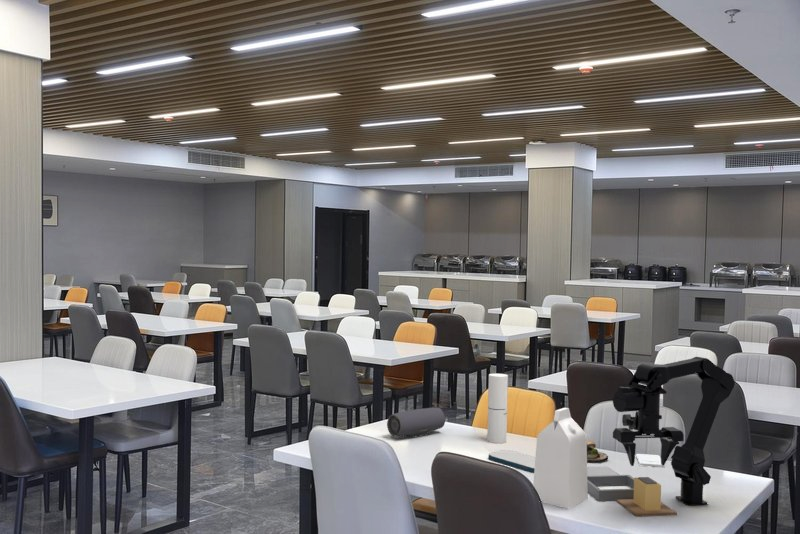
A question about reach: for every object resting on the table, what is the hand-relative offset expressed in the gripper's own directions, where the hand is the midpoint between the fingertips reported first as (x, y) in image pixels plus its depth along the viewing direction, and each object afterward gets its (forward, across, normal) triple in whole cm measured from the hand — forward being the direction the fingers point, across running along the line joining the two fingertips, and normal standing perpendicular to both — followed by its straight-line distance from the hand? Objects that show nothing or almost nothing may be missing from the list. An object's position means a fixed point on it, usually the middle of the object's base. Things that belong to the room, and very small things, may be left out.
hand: (647, 465), depth 207 cm
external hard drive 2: (+13, -24, -44) cm, 52 cm away
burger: (+12, -5, -50) cm, 51 cm away
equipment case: (+12, +3, -21) cm, 24 cm away
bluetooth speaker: (+12, +50, -87) cm, 101 cm away
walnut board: (+12, 0, 0) cm, 12 cm away
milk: (+12, +22, -10) cm, 27 cm away
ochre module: (+11, 0, 0) cm, 11 cm away
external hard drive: (+13, +21, -46) cm, 52 cm away
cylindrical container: (+12, +21, -76) cm, 79 cm away
